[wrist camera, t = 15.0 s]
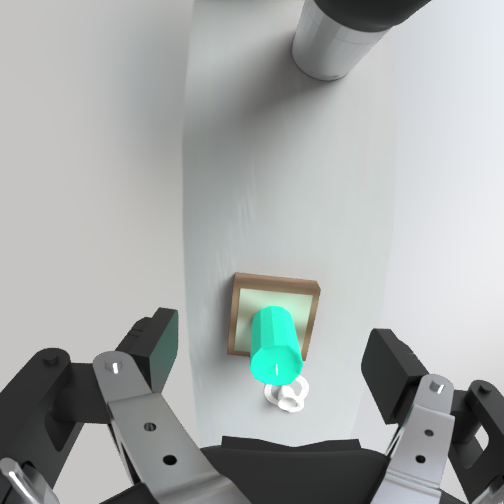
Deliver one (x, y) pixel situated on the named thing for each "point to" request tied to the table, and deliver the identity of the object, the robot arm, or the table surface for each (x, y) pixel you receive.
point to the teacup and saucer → (288, 396)
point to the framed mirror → (276, 294)
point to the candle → (274, 347)
